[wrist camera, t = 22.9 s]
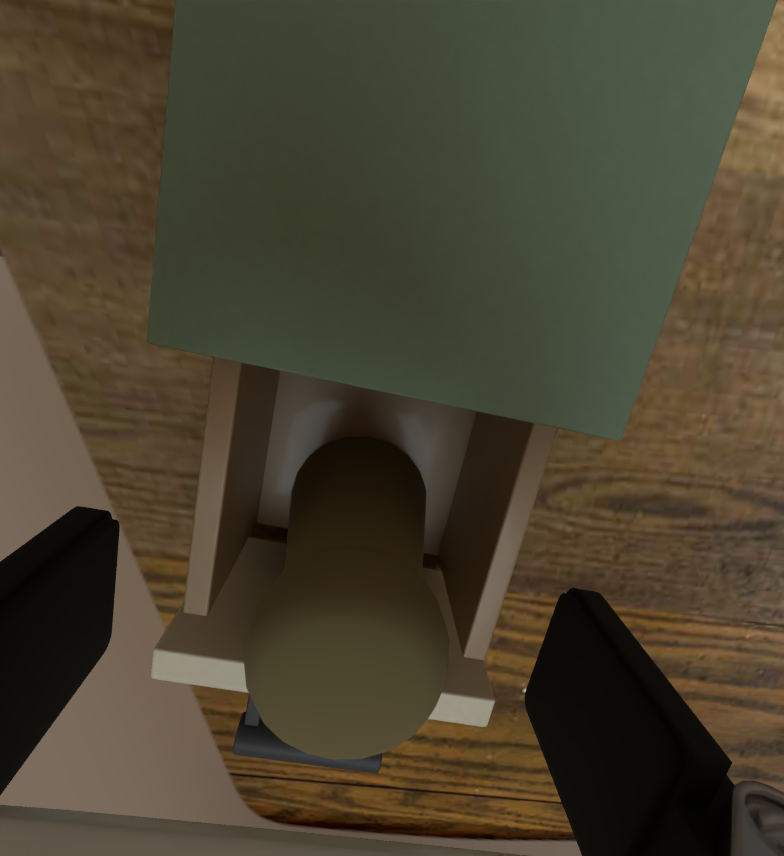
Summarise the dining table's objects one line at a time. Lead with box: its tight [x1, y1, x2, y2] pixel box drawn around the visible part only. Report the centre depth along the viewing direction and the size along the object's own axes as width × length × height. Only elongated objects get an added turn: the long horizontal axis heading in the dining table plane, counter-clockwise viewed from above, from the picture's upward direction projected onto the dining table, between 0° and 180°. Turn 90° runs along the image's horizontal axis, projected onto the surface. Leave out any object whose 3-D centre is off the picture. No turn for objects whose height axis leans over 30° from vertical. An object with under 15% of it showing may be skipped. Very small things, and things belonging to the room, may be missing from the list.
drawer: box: [151, 357, 558, 774], centre depth 19 cm, size 19×11×8 cm, turn 168°
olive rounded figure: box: [244, 436, 449, 760], centre depth 16 cm, size 6×6×11 cm
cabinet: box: [147, 0, 777, 441], centre depth 15 cm, size 15×13×10 cm
